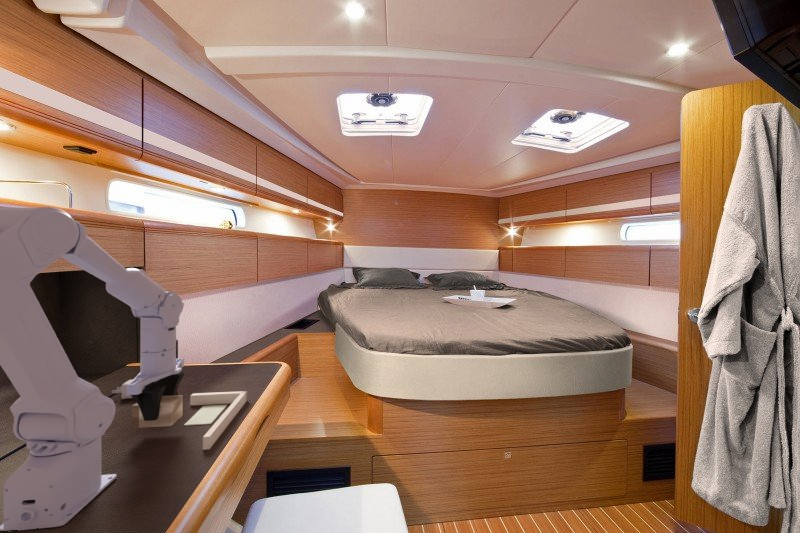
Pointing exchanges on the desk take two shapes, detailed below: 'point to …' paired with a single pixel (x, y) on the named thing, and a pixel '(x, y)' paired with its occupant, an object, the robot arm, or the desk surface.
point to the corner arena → (215, 412)
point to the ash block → (160, 413)
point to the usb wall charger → (124, 390)
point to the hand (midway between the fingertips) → (158, 413)
